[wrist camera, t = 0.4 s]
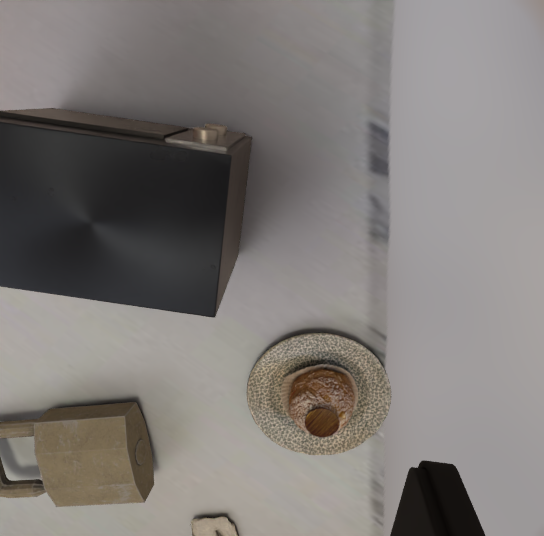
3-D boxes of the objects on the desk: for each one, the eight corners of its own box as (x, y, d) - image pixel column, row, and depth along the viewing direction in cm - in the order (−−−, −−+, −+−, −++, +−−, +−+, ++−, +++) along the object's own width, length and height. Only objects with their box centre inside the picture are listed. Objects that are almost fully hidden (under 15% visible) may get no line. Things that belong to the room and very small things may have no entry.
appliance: (57, 97, 33) (-51, 98, 23) (253, 125, 33) (233, 139, 23) (60, 229, 37) (-33, 282, 26) (238, 255, 37) (215, 318, 26)
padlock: (158, 478, 43) (10, 486, 45) (140, 397, 42) (-13, 409, 44) (141, 509, 40) (-20, 516, 42) (121, 421, 38) (-46, 433, 40)
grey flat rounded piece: (389, 443, 42) (399, 483, 38) (255, 448, 43) (250, 488, 39) (388, 323, 38) (399, 352, 34) (240, 331, 39) (233, 361, 35)
